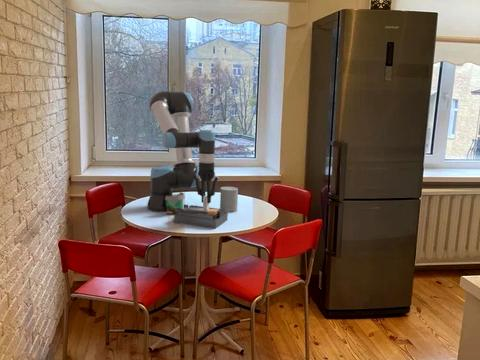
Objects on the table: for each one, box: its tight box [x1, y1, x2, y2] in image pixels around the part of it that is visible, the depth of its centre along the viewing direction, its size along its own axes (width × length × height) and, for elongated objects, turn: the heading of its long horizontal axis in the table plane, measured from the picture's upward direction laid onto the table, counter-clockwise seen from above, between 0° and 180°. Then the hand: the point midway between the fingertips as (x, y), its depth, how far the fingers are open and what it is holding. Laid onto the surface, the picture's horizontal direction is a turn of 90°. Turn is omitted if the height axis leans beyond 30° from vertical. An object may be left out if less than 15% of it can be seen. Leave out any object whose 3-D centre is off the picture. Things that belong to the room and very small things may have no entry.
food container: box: [165, 191, 186, 216], centre depth 248 cm, size 12×6×10 cm, turn 148°
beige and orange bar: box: [182, 206, 220, 215], centre depth 236 cm, size 18×5×2 cm, turn 71°
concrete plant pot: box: [219, 186, 239, 214], centre depth 258 cm, size 10×10×12 cm
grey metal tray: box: [173, 204, 229, 230], centre depth 236 cm, size 22×16×7 cm
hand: (206, 209), depth 234 cm, fingers closed
